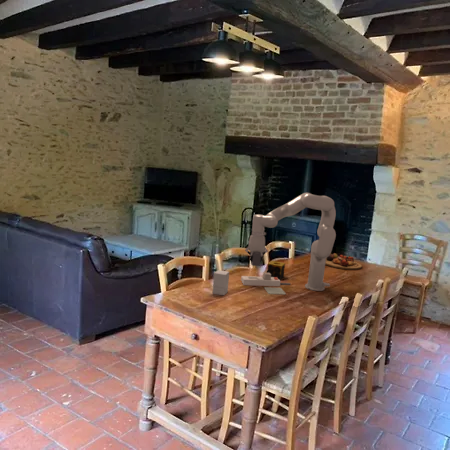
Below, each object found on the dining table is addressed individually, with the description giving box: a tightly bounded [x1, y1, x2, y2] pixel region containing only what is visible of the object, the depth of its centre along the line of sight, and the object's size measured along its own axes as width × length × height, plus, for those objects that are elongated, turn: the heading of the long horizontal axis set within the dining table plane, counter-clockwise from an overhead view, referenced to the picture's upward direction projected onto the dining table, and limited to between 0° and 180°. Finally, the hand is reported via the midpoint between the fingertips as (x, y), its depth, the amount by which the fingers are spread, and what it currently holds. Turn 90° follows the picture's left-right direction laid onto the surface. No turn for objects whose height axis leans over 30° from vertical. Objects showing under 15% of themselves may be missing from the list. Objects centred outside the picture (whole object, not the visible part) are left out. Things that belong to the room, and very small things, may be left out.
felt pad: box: [263, 286, 287, 295], centre depth 259 cm, size 11×11×1 cm
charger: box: [250, 252, 261, 267], centre depth 268 cm, size 5×5×8 cm
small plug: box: [262, 272, 271, 280], centre depth 271 cm, size 4×4×5 cm
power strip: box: [240, 275, 291, 287], centre depth 272 cm, size 32×8×4 cm, turn 98°
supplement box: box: [212, 269, 230, 296], centre depth 246 cm, size 7×7×13 cm
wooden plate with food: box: [325, 252, 363, 271], centre depth 340 cm, size 32×32×8 cm
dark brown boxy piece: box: [266, 260, 286, 281], centre depth 288 cm, size 10×10×10 cm
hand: (255, 261), depth 268 cm, fingers closed on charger, 5 cm apart
